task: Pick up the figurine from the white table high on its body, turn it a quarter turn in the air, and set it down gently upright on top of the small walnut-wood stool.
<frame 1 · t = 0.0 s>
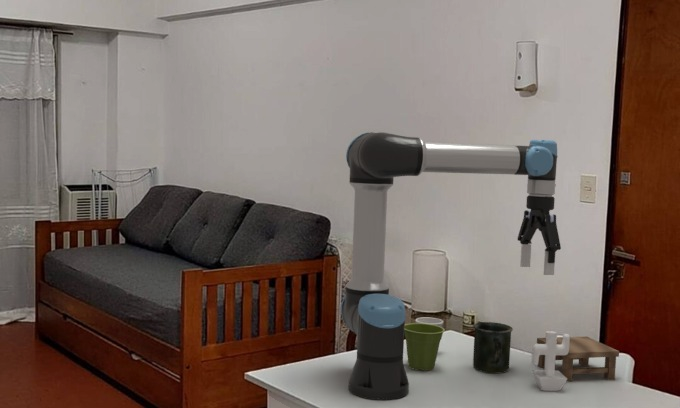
hand: (536, 270, 213), 28 cm above the table, tool pointing down, fingers open, 13 cm apart
mug: (492, 370, 212), on the table
plant pot: (421, 368, 213), on the table
walnut stool: (575, 372, 213), on the table
figurine: (548, 388, 198), on the table
dixie cup: (427, 353, 228), on the table
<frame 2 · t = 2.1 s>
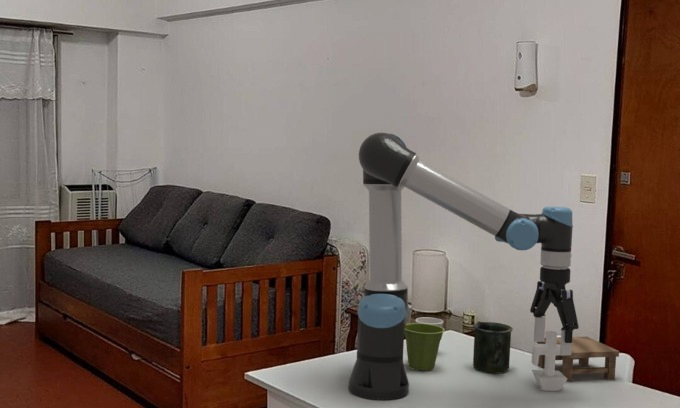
hand: (551, 348, 197), 11 cm above the table, tool pointing down, fingers open, 13 cm apart
nothing on the table moved.
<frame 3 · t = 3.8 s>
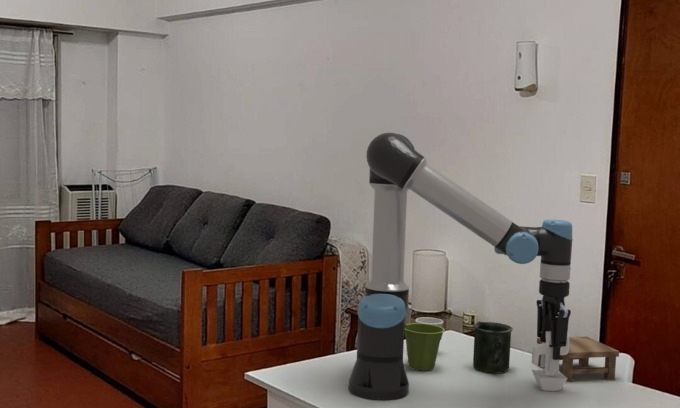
hand: (549, 368, 197), 5 cm above the table, tool pointing down, fingers closed on figurine, 3 cm apart
figurine: (548, 388, 198), on the table, touching gripper
everything else where it was.
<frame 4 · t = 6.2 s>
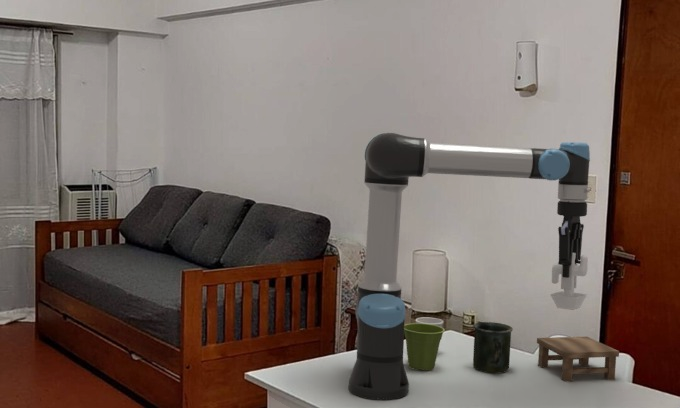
hand: (568, 288, 203), 25 cm above the table, tool pointing down, fingers closed on figurine, 3 cm apart
figurine: (568, 308, 203), point 20 cm above the table, touching gripper
everything else where it was.
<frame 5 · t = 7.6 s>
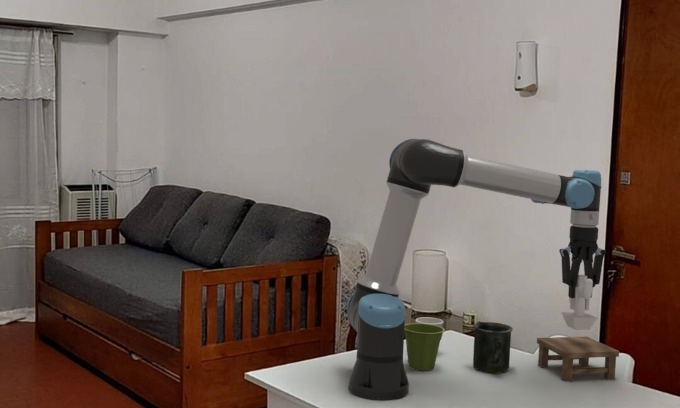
hand: (579, 309, 212), 18 cm above the table, tool pointing down, fingers closed on figurine, 3 cm apart
figurine: (578, 328, 212), point 13 cm above the table, touching gripper
everything else where it was.
when the fingers open (14 cm above the table, at t = 8.6 s): figurine stays where it is, resting on walnut stool.
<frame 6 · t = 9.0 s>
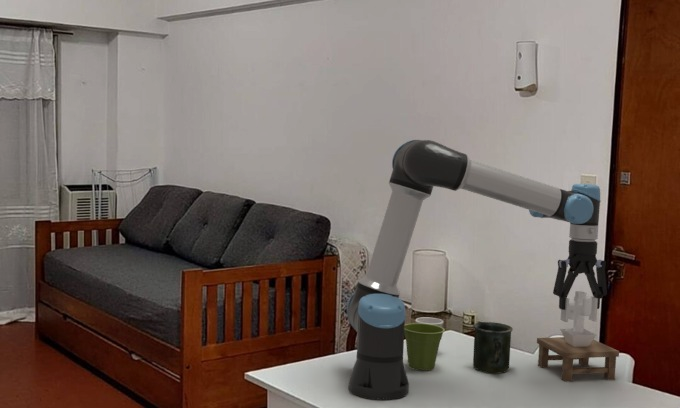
hand: (578, 320, 212), 15 cm above the table, tool pointing down, fingers open, 8 cm apart
figurine: (577, 345, 212), point 8 cm above the table, touching walnut stool
everything else where it was.
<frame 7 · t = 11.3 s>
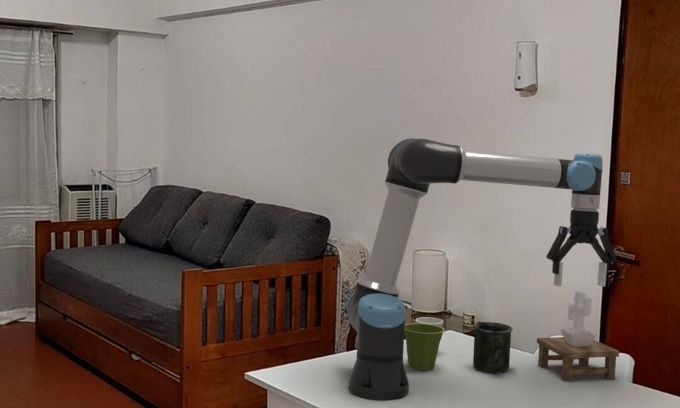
hand: (579, 285, 211), 25 cm above the table, tool pointing down, fingers open, 13 cm apart
nothing on the table moved.
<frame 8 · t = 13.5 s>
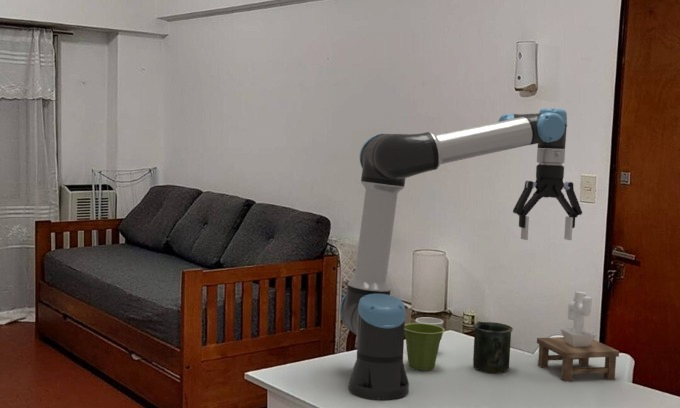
hand: (546, 239, 214), 37 cm above the table, tool pointing down, fingers open, 13 cm apart
nothing on the table moved.
at the end: figurine inside the target area on the walnut stool (0.3 cm from its centre), point 7.8 cm above the walnut stool's base; figurine tilted 0°; the gripper is holding nothing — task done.
